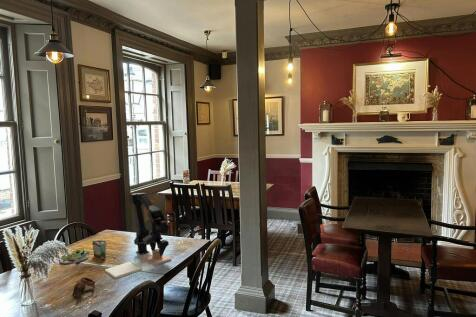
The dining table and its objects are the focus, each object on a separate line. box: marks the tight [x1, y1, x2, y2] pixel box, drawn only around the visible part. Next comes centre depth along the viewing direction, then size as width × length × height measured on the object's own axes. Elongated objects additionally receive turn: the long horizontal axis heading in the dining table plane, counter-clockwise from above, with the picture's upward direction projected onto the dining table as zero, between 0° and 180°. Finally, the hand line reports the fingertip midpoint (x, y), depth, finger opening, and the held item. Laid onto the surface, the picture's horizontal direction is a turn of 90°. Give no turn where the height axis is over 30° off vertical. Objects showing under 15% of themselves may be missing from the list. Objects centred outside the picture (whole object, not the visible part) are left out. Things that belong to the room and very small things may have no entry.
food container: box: [91, 239, 108, 261], centre depth 219 cm, size 12×6×10 cm, turn 47°
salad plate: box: [59, 247, 91, 265], centre depth 217 cm, size 19×18×5 cm
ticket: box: [104, 261, 143, 280], centre depth 197 cm, size 14×16×1 cm
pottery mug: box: [72, 277, 96, 297], centre depth 171 cm, size 12×10×8 cm
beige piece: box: [143, 248, 172, 266], centre depth 212 cm, size 14×11×6 cm
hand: (157, 254), depth 212 cm, fingers open, 9 cm apart
